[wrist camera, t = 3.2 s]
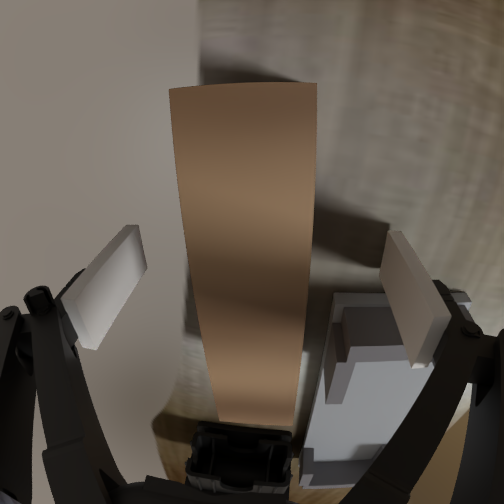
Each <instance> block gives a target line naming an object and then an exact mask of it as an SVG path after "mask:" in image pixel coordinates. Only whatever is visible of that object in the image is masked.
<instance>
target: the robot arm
mask: <svg viewBox="0 0 504 504" xmlns="http://www.w3.org/2000/svg"><path fill="white" fill-rule="evenodd" d="M146 269H147V265H146V260H145V255H144V251H143V246H142V241H141V236H140V231H139V226H138V225H126V226H125V227H124V228H123V229H122V230H121V231H120V232H119V233H118V234H117V235H116V236H115V237H114V238H113V239H112V241H111V242H110V243H109V244H108V245H107V246H106V247H105V248H104V249H103V250H102V251H101V252H100V253H99V254H98V256H97V257H96V258H95V259H94V260H93V261H92V262H91V263H90V265H89V266H88V267H87V268H86V269H82V270H81V271H80V272H78V273H76V274H75V275H74V277H73V278H72V279H71V280H70V281H69V282H68V283H67V285H66V287H64V288H63V289H62V290H61V292H60V293H59V294H58V295H57V296H56V298H55V299H53V297H52V294H51V292H50V289H49V287H47V286H38V287H35V288H33V289H31V290H30V291H28V292H27V293H26V295H25V296H24V299H23V300H24V302H25V304H26V306H27V308H28V310H29V312H30V314H21V312H20V310H19V308H18V307H17V306H10V307H6V308H5V309H3V310H2V311H1V312H0V504H31V501H32V436H33V420H34V408H35V407H34V406H35V397H36V389H37V395H38V401H39V407H40V414H41V419H42V424H43V429H44V434H45V438H46V443H47V450H44V451H43V452H42V458H43V463H44V466H45V471H46V474H47V478H48V482H49V485H50V488H51V492H52V495H53V498H54V501H55V504H298V503H295V502H292V501H288V500H286V496H287V494H277V493H258V492H247V493H239V494H230V495H220V496H211V495H208V494H206V493H203V492H201V491H198V490H196V489H193V488H191V487H189V486H186V485H184V484H182V483H179V482H176V481H171V480H165V479H162V478H157V477H153V476H149V475H147V476H146V479H145V482H135V483H130V484H127V482H126V481H125V479H124V478H123V476H122V475H121V473H120V472H119V470H118V468H117V466H116V463H115V461H114V459H113V456H112V454H111V452H110V449H109V447H108V444H107V442H106V439H105V437H104V434H103V431H102V429H101V426H100V423H99V420H98V418H97V415H96V412H95V409H94V406H93V403H92V400H91V397H90V394H89V391H88V387H87V384H86V381H85V377H84V374H83V370H82V366H81V363H80V359H79V355H78V351H77V348H76V346H75V344H74V343H75V342H76V340H77V339H79V341H80V343H81V345H82V347H83V348H88V349H93V350H97V348H98V346H99V345H100V343H101V341H102V340H103V338H104V336H105V335H106V333H107V331H108V330H109V328H110V326H111V325H112V323H113V321H114V320H115V318H116V316H117V315H118V313H119V311H120V310H121V308H122V307H123V305H124V304H125V302H126V300H127V299H128V297H129V296H130V294H131V292H132V291H133V289H134V288H135V286H136V285H137V283H138V282H139V280H140V278H141V277H142V275H143V274H144V272H145V271H146ZM379 277H380V280H381V283H382V285H383V288H384V290H385V293H386V296H387V298H388V301H389V304H390V306H391V309H392V312H393V315H394V318H395V320H396V323H397V326H398V329H399V332H400V335H401V338H402V341H403V344H404V347H405V350H406V353H407V356H408V359H409V363H410V366H411V369H415V368H426V367H428V366H429V364H430V362H431V360H432V358H433V359H434V362H435V364H436V365H435V367H434V369H433V371H432V373H431V374H430V376H429V378H428V380H427V382H426V383H425V385H424V387H423V389H422V390H421V392H420V394H419V396H418V397H417V399H416V401H415V402H414V404H413V405H412V407H411V409H410V410H409V412H408V413H407V415H406V417H405V418H404V420H403V421H402V423H401V424H400V426H399V427H398V429H397V430H396V432H395V433H394V434H393V436H392V437H391V439H390V440H389V442H388V443H387V444H386V446H385V447H384V449H383V450H382V451H381V453H380V454H379V455H378V457H377V458H376V459H375V461H374V462H373V463H372V465H371V466H370V467H369V468H368V470H367V471H366V472H365V473H364V475H363V476H362V477H361V478H360V479H359V481H358V482H357V483H356V484H355V485H354V487H353V488H352V489H351V490H350V491H349V492H348V494H347V495H346V496H345V497H344V498H343V499H342V500H341V501H340V502H339V504H407V503H408V501H409V499H410V493H411V491H412V489H413V487H414V485H415V484H416V483H417V481H418V480H419V478H420V476H421V475H422V473H423V471H424V470H425V468H426V466H427V465H428V463H429V461H430V460H431V458H432V456H433V454H434V452H435V451H436V449H437V447H438V445H439V443H440V441H441V439H442V438H443V436H444V434H445V432H446V430H447V428H448V426H449V424H450V422H451V419H452V417H453V415H454V413H455V411H456V409H457V406H458V404H459V402H460V400H461V397H462V395H463V393H464V390H465V388H466V385H467V383H473V384H472V395H471V404H470V412H469V420H468V426H467V432H466V438H465V444H464V450H463V455H462V460H461V464H460V468H459V472H458V476H457V480H456V484H455V488H454V492H453V495H452V498H451V502H450V504H504V329H502V330H501V331H500V332H499V334H498V336H497V337H494V336H489V335H484V334H483V331H482V329H481V328H480V327H479V326H478V325H477V324H475V323H474V322H472V321H469V320H466V319H465V317H464V315H463V313H462V312H461V310H460V308H459V306H458V305H457V303H456V301H455V300H454V298H453V296H452V295H451V293H450V291H449V289H448V288H447V286H446V285H444V284H443V283H442V282H441V281H440V280H431V278H430V276H429V275H428V273H427V271H426V270H425V268H424V266H423V265H422V263H421V261H420V260H419V258H418V257H417V255H416V253H415V252H414V250H413V249H412V247H411V245H410V244H409V242H408V241H407V239H406V238H405V236H404V235H403V233H402V232H401V231H388V232H387V238H386V243H385V248H384V253H383V258H382V263H381V268H380V273H379Z"/></svg>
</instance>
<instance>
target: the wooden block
mask: <svg viewBox="0 0 504 504" xmlns="http://www.w3.org/2000/svg"><path fill="white" fill-rule="evenodd" d="M169 96H170V97H169V98H170V109H171V110H170V111H171V121H172V133H173V144H174V153H175V164H176V172H177V181H178V189H179V198H180V206H181V213H182V221H183V227H184V235H185V242H186V249H187V256H188V262H189V268H190V275H191V281H192V287H193V293H194V298H195V304H196V310H197V315H198V321H199V326H200V331H201V337H202V342H203V347H204V352H205V357H206V362H207V367H208V371H209V376H210V381H211V385H212V390H213V395H214V399H215V403H216V408H217V412H218V416H219V421H225V422H235V423H247V424H262V425H284V426H292V424H293V417H294V410H295V403H296V396H297V389H298V381H299V373H300V365H301V356H302V348H303V339H304V329H305V320H306V309H307V299H308V287H309V275H310V262H311V249H312V233H313V216H314V197H315V173H316V137H317V83H304V82H251V83H228V84H213V85H201V86H191V87H182V88H174V89H169Z"/></svg>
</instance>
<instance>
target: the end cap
mask: <svg viewBox="0 0 504 504" xmlns="http://www.w3.org/2000/svg"><path fill="white" fill-rule="evenodd" d="M197 431H198V432H196V433H195V434H194V436H193V440H192V441H190V445H191V448H192V456H191V458H188V460H187V461H186V462H185V466H186V468H185V471H186V473H187V477H186V481H185V485H186V486H189V487H191V488H193V489H196V490H198V491H201V492H203V493H206V494H208V495H211V496H220V495H230V494H239V493H247V492H258V493H277V494H287V496H286V500H288V501H289V486H290V481H291V479H292V477H293V475H292V474H291V470H290V468H291V460H292V458H293V456H294V453H293V452H292V445H291V444H290V442H291V439H292V433H291V432H290V431H282V430H269V429H258V428H249V427H240V426H232V425H225V424H218V423H212V422H206V421H199V422H198V425H197Z"/></svg>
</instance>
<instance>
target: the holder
mask: <svg viewBox="0 0 504 504" xmlns="http://www.w3.org/2000/svg"><path fill="white" fill-rule="evenodd" d="M451 295H452V296H453V298H454V300H455V301H456V303H457V305H458V306H459V308H460V310H461V312H462V313H463V315H464V317H465V319H466V320H469V321H472V322H474V320H473V318H472V317H471V315H470V313H469V311H468V310H469V308H470V306H471V303H472V301H471V300H470V298H469V297H468V295H467V293H451ZM474 323H475V322H474ZM435 365H436V364H435V362H434V359H433V358H432V360H431V362H430V364H429V366H428V367H426V368H415V369H411V366H410V363H409V359H408V356H407V353H406V350H405V347H404V344H403V341H402V338H401V335H400V332H399V329H398V326H397V323H396V320H395V318H394V315H393V312H392V309H391V306H390V304H389V301H388V298H387V296H386V293H333V300H332V306H331V312H330V318H329V324H328V330H327V335H326V341H325V346H324V351H323V357H322V362H321V367H320V372H319V376H318V381H317V386H316V390H315V395H314V399H313V404H312V408H311V412H310V417H309V421H308V425H307V429H306V433H305V437H304V441H303V445H302V449H301V452H300V456H299V466H300V468H299V486H302V489H323V488H344V487H354V485H355V484H356V483H357V482H358V481H359V479H360V478H361V477H362V476H363V475H364V473H365V472H366V471H367V470H368V468H369V467H370V466H371V465H372V463H373V462H374V461H375V459H376V458H377V457H378V455H379V454H380V453H381V451H382V450H383V449H384V447H385V446H386V444H387V443H388V442H389V440H390V439H391V437H392V436H393V434H394V433H395V432H396V430H397V429H398V427H399V426H400V424H401V423H402V421H403V420H404V418H405V417H406V415H407V413H408V412H409V410H410V409H411V407H412V405H413V404H414V402H415V401H416V399H417V397H418V396H419V394H420V392H421V390H422V389H423V387H424V385H425V383H426V382H427V380H428V378H429V376H430V374H431V373H432V371H433V369H434V367H435Z"/></svg>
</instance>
